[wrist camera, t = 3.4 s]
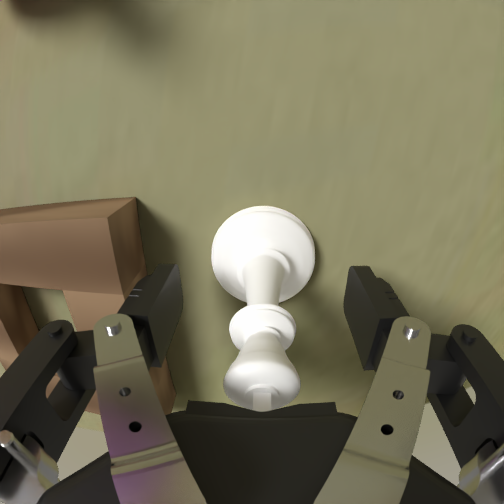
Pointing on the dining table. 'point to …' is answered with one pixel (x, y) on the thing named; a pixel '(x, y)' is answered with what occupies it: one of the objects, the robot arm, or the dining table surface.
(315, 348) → the dining table surface
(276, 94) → the dining table surface
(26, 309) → the socket block
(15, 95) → the dining table surface
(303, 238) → the chess piece
